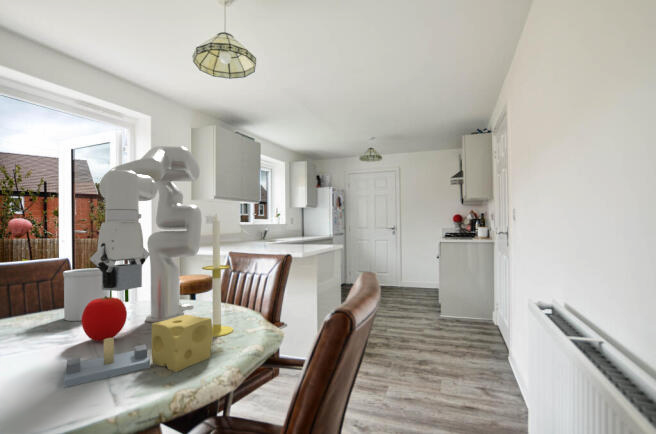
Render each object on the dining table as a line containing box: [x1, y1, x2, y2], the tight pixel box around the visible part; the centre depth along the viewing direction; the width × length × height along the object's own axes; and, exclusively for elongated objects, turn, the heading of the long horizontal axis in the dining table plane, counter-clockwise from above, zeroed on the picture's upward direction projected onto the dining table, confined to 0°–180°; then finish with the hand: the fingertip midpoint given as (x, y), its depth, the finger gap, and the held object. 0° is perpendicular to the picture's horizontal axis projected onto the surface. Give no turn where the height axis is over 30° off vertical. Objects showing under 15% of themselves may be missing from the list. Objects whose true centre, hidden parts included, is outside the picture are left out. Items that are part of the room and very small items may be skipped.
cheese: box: [151, 314, 213, 373], centre depth 84 cm, size 10×11×10 cm
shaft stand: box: [63, 337, 151, 388], centre depth 79 cm, size 16×10×7 cm, turn 126°
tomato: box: [81, 296, 128, 342], centre depth 100 cm, size 11×11×13 cm
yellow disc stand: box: [201, 214, 234, 338], centre depth 106 cm, size 10×10×38 cm
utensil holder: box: [62, 267, 111, 322], centre depth 127 cm, size 15×15×18 cm
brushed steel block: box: [102, 263, 143, 292], centre depth 88 cm, size 6×6×6 cm
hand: (122, 285), depth 88 cm, fingers closed on brushed steel block, 6 cm apart
